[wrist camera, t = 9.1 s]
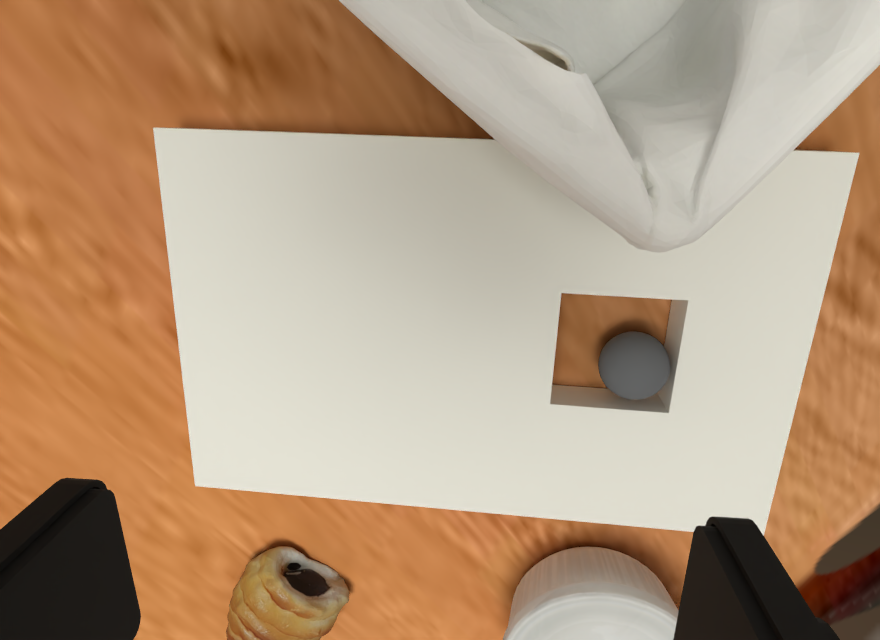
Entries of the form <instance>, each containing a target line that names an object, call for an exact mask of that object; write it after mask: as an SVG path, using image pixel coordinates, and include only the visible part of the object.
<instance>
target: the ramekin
mask: <svg viewBox="0 0 880 640" xmlns="http://www.w3.org/2000/svg"><path fill="white" fill-rule="evenodd" d="M678 612H679V610H678V609H677V607H676V605H675V604H674V602H673V600H672V599H671V597H670V595H669V594H668V592H667V590H666V589H665V587H664V585H663V584H662V582H661V581H660V580H659V579H658V578H657V576H656V575H655V574H654V573H653V572H652V571H650V570H649V568H648V567H646V566H645V565H643V564H641V563H640V562H639V561H638V560H636V559H634V558H632V557H630V556H629V555H626V554H623V553H621V552H619V551H614V550H611V549H607V548H601V547H576V548H570V549H566V550H563V551H560V552H557V553H555V554H552V555H550V556H548V557H547V558H545V559H543V560H541V561H540V562H538V563H537V564H536V565H534V566H533V567H532V568H531V569H530V570H529V571H528V572H527V573H526V574H525V576H524V577H523V578H522V579H521V581H520V583H519V585H518V586H517V588H516V592H515V594H514V597H513V601H512V606H511V612H510V617H509V623H508V627H507V629H506V632H505V634H504V637H503V640H673V639H674V633H675V628H676V623H677V617H678Z"/></svg>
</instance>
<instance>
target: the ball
mask: <svg viewBox="0 0 880 640" xmlns="http://www.w3.org/2000/svg"><path fill="white" fill-rule="evenodd" d="M598 366H599V373H600V376H601V379H602V381H603V382H604V384H605V385H606V386H607V388H608V389H609V390H610V391H612V392H613V393H614V394H616V395H618V396H620V397H622V398H626V399H631V400H640V399H645V398H648V397H651V396H653V395H654V394H656V393H657V392H658V391H660V390H661V389H662V388H663V386H664V385H665V384H666V382H667V380H668V377H669V374H670V359H669V356H668V353H667V351H666V349H665V348H664V346H663V345H662V344H661V343H660V342H659V341H658V340H657V339H656V338H654V337H652V336H651V335H648V334H646V333H642V332H636V331H632V332H625V333H621V334H619V335H617V336H615V337H613V338H612V339H611V340H609V341H608V342H607V343H606V345H605V346H604V347H603V349H602V351H601V354H600V357H599V363H598Z"/></svg>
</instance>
